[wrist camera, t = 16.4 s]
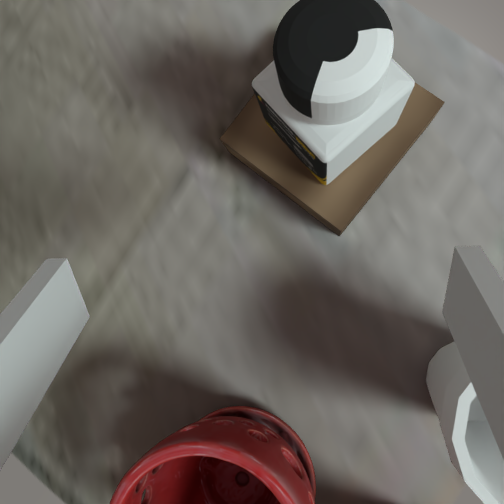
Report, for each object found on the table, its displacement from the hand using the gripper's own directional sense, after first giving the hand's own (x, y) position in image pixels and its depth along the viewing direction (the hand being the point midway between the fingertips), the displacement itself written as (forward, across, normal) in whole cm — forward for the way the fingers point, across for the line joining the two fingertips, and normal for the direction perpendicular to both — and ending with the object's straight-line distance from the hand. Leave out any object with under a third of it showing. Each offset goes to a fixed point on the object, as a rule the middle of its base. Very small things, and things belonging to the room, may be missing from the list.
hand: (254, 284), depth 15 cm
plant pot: (+8, -4, -26) cm, 28 cm away
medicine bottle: (+22, +4, -1) cm, 22 cm away
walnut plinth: (+25, +4, -4) cm, 25 cm away
